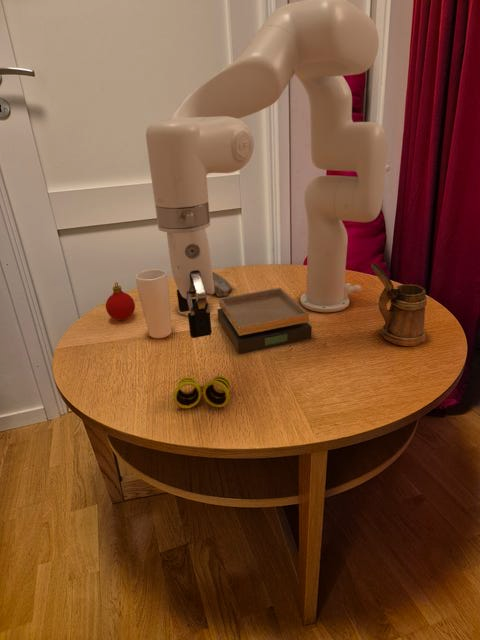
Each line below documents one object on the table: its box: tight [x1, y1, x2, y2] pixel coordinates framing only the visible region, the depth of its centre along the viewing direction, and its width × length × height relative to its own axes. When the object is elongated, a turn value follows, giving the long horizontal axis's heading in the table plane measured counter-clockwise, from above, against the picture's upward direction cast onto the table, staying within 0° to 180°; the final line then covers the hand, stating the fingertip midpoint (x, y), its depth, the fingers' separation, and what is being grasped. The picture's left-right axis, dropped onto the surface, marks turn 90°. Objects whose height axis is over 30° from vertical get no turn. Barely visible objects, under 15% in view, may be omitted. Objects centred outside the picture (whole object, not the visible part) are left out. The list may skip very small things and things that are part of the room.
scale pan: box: [218, 287, 310, 336], centre depth 94 cm, size 16×16×2 cm
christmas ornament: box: [105, 281, 136, 321], centre depth 102 cm, size 7×7×10 cm
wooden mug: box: [370, 262, 428, 347], centre depth 85 cm, size 9×14×18 cm, turn 99°
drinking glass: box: [135, 268, 173, 339], centre depth 93 cm, size 7×7×15 cm
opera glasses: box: [172, 375, 231, 409], centre depth 72 cm, size 10×5×5 cm, turn 89°
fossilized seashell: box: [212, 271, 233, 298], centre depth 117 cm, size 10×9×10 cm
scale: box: [217, 308, 313, 355], centre depth 95 cm, size 17×17×4 cm
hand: (194, 322), depth 66 cm, fingers open, 9 cm apart
